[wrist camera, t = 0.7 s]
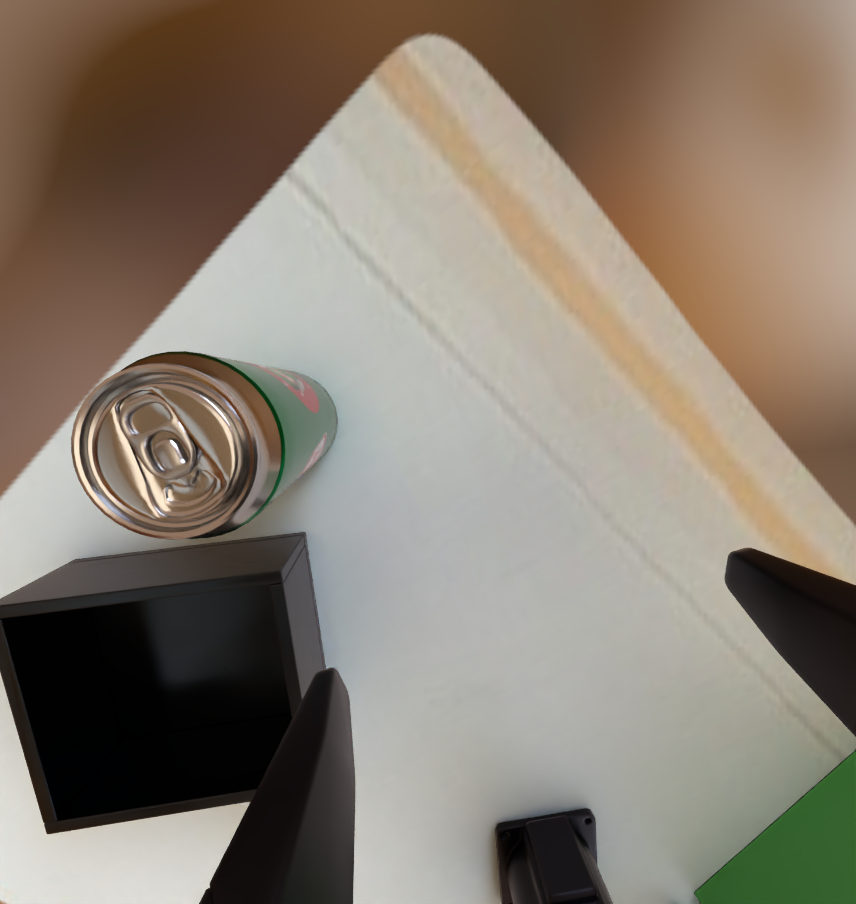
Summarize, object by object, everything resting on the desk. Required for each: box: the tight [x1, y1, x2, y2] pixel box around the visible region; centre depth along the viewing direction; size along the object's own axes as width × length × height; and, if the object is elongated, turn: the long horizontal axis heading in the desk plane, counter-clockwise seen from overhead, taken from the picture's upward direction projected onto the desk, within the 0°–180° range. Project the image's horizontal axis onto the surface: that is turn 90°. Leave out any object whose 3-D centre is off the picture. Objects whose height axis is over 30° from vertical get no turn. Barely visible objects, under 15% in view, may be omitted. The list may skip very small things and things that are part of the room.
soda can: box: [71, 351, 337, 539], centre depth 16 cm, size 5×5×12 cm
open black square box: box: [0, 532, 326, 834], centre depth 21 cm, size 11×12×5 cm
